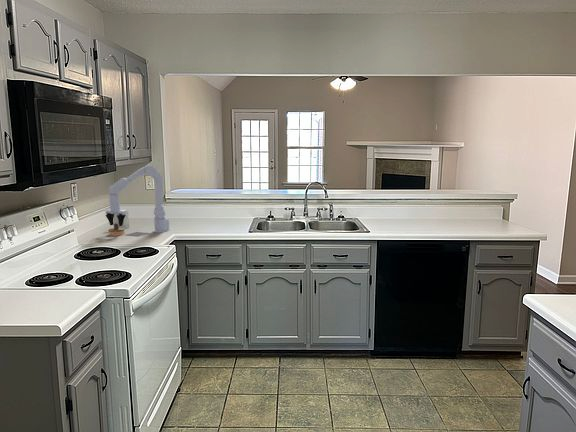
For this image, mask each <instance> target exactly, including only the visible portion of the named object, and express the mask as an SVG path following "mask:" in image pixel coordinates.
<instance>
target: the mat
mask: <svg viewBox="0 0 576 432" xmlns="http://www.w3.org/2000/svg"><path fill="white" fill-rule="evenodd" d="M149 234H150V232H142V231H141V232H140V231H135V232H130V233H128V234H125V236H126V237H127V236H129V237H137V238H138V237H141V236H146V235H149Z"/></svg>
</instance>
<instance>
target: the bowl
mask: <svg viewBox="0 0 576 432" xmlns="http://www.w3.org/2000/svg"><path fill="white" fill-rule="evenodd" d="M108 235H109V236H112V237H118V236H123V235H126V234H125V230H124V231H120V232H109V231H108Z"/></svg>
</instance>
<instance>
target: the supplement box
mask: <svg viewBox="0 0 576 432" xmlns="http://www.w3.org/2000/svg"><path fill="white" fill-rule="evenodd" d="M120 211H124V212H125V215H126V216H125V218H124V221H123V225H122V226H119V228H124V230H127V229H129V228H130V219H129V218H130V217H129V210H128V209H120ZM117 215H119V214H114V218H113V222H114V223H118V225H119V221H118V218H117ZM114 223H113V224H114Z"/></svg>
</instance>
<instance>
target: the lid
mask: <svg viewBox="0 0 576 432" xmlns="http://www.w3.org/2000/svg"><path fill="white" fill-rule="evenodd" d="M107 231H108V233H109V232H120V231H124V232H125V229H124V228H119V225H118V223H113V227H112V228H109V229H107Z"/></svg>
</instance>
